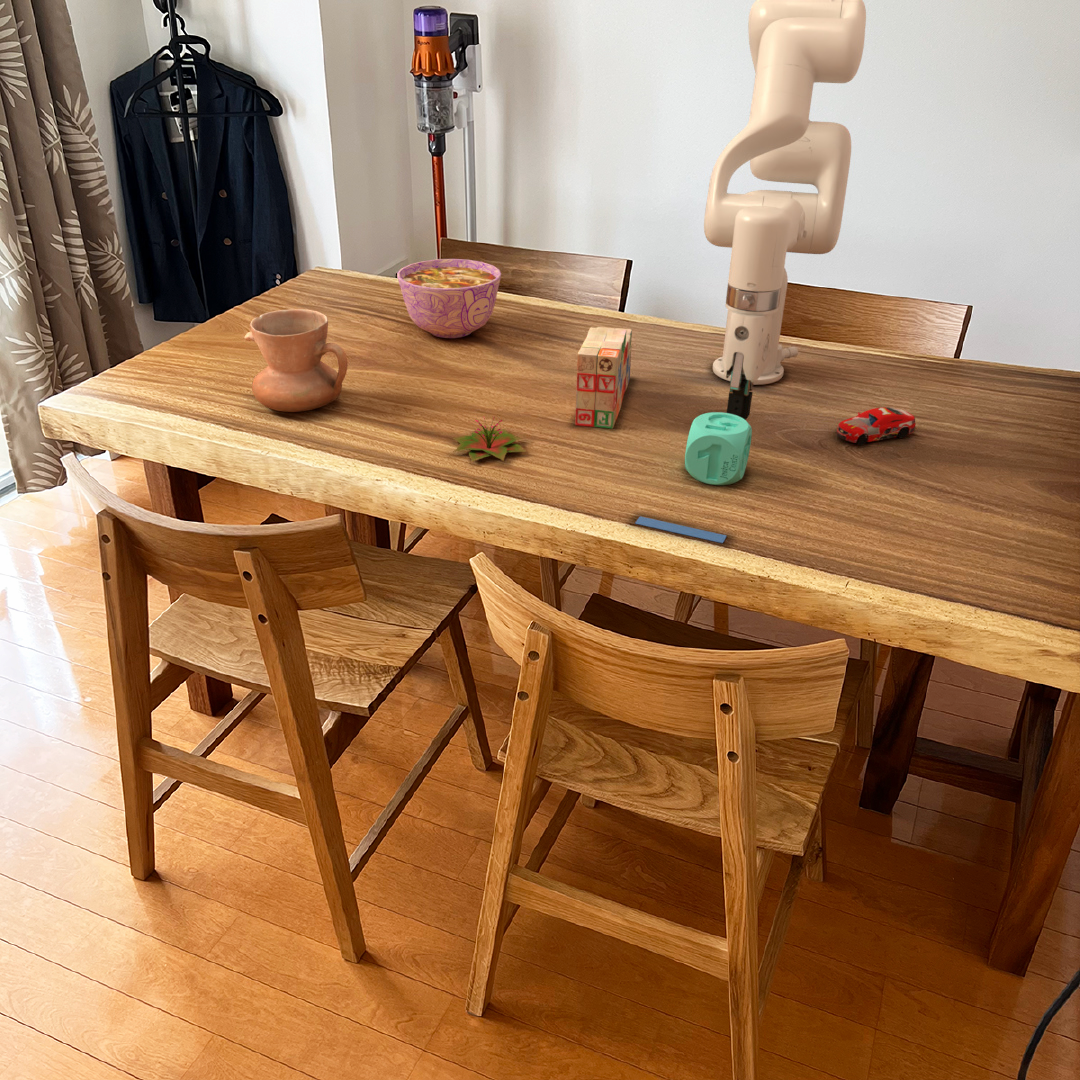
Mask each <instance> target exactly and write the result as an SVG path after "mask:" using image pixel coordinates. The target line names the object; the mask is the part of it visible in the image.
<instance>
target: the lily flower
mask: <svg viewBox="0 0 1080 1080" xmlns="http://www.w3.org/2000/svg"><path fill="white" fill-rule="evenodd" d="M482 417H483V420H484V422H485V423H487V422H486V420H485V416H482ZM495 418H496V417H495V415H494V417H493V419H492V422H491V424H490V425H491V426H490V427H489V430H488V425H487V424H485V425H483V424H482V423H480V421H479V420H477V419H475V420H474V421H475V422H477V423H478V425H479V426H480V427H482V430H481V429H480V428H479V427H477V428H476V430H475V431H473V432H472V433H471V435H461V436H457V437H451V439H453V440H454V441H456V442H458V443H459V445H458V446H457V447H456V449H455V450H454V451H452V453H455V452H461V451H467V450H468V456H469V458H470V461H471V463H473V462H475V461H479V460H481V459H483V458H487V457H490V456H493V457H495V458H497V459H500V460H501V461H502V462H504V461H505V458H506V455H507V453H521V452H522V453H523V452H524V453H525V452H526V453H528V450H526V449H525V448H523V447H522V445H520V444H518V443H514V442H516V441H519V440H523V439H525V438H524V437H520V436H518V435H515V434H514V433H513V434H512V433H509V432H508V431H507V429H506V428H503V429H502V428H501V427H500V428H498V429H496V427H497V426H498V425H499V424H500V423H501V422H503V419H500V420H499V421H498V422H497V423H495V424H494V425H493V422H494V420H495Z"/></svg>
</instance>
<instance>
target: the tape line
mask: <svg viewBox="0 0 1080 1080" xmlns="http://www.w3.org/2000/svg"><path fill="white" fill-rule="evenodd" d="M634 524H635V525H639V526H643V527H648V528H652V529H656V530H661V531H666V532H670V533H675V534H679V535H683V536H688V537H693V538H696V539H702V540H706V541H710V542H715V543H719V544H724V542H725V540H726V539H727V535H726V534H721V533H717V532H712V531H707V530H703V529H698V528H695V527H690V526H686V525H682V524H681V525H680V524H677V523H673V522H672V523H671V522H667V521H663V520H658V519H655V518H651V517H650V518H649V517H645V516H639V517H638V518H637V519H636V521H635V523H634Z"/></svg>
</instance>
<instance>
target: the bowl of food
mask: <svg viewBox="0 0 1080 1080" xmlns="http://www.w3.org/2000/svg"><path fill="white" fill-rule="evenodd" d="M396 274H397V276H396V277H397V281H398V284H399V288H400V291H401V294H402V299H403V301H404V305H405V308H406V309H407V310H406V311H407V313H408V316H409V318H410V320H412V322H413V323H414V324H415V325H416V326H417V327H418V328H420V329H422V330H424V332H428V333H430V334H431V335H433V336H435V337H438V338H443V339H458V338H463V337H467V336H469V335H470V334H471V333H473V332H475V331H477V330H478V329H481V328H482V327H484V326H485V325H486V324H487V322H488V321H489V319H490V318H491V316H492V315H493V312H494V308H495V306H496V302H497V301H496V300H497V297H498V291H499V287H500V283H501V279H502V273H501V270H500V269H499V268H498V267H496V266H495V265H493V264H490V263H486V262H483V261H480V260H474V259H473V260H472V259H464V258H463V259H462V258H437V259H430V260H429V259H428V260H422V261H418V262H414V263H410V264H407V265H405V266H404V267H402V268H400V269H399V270H398V271H397V272H396Z"/></svg>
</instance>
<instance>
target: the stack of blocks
mask: <svg viewBox="0 0 1080 1080" xmlns="http://www.w3.org/2000/svg"><path fill="white" fill-rule="evenodd" d="M588 329H589V330H588V332H587V334H586V337H585V340H583V343H582V345H581V346H580V348H579V350H578V352H577V366H576V367H577V368H576V369H577V370H576V371H577V372H576V402H575V422H574V424H575V426H580V427H581V426H582V427H592V428H593V427H595V428H602V429H613V428H614V427H615V423H616V421H617V419H618V417H619V414H620V412H621V411H620V410H621V408H622V403H623V399H624V396H625V392H626V391H627V389H628V385H629V382H630V379H631V365H632V336H633V329H632V328H623V327H622V328H621V327H608V326H607V327H605V326H597V327H593V326H591V327H589V328H588Z"/></svg>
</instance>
